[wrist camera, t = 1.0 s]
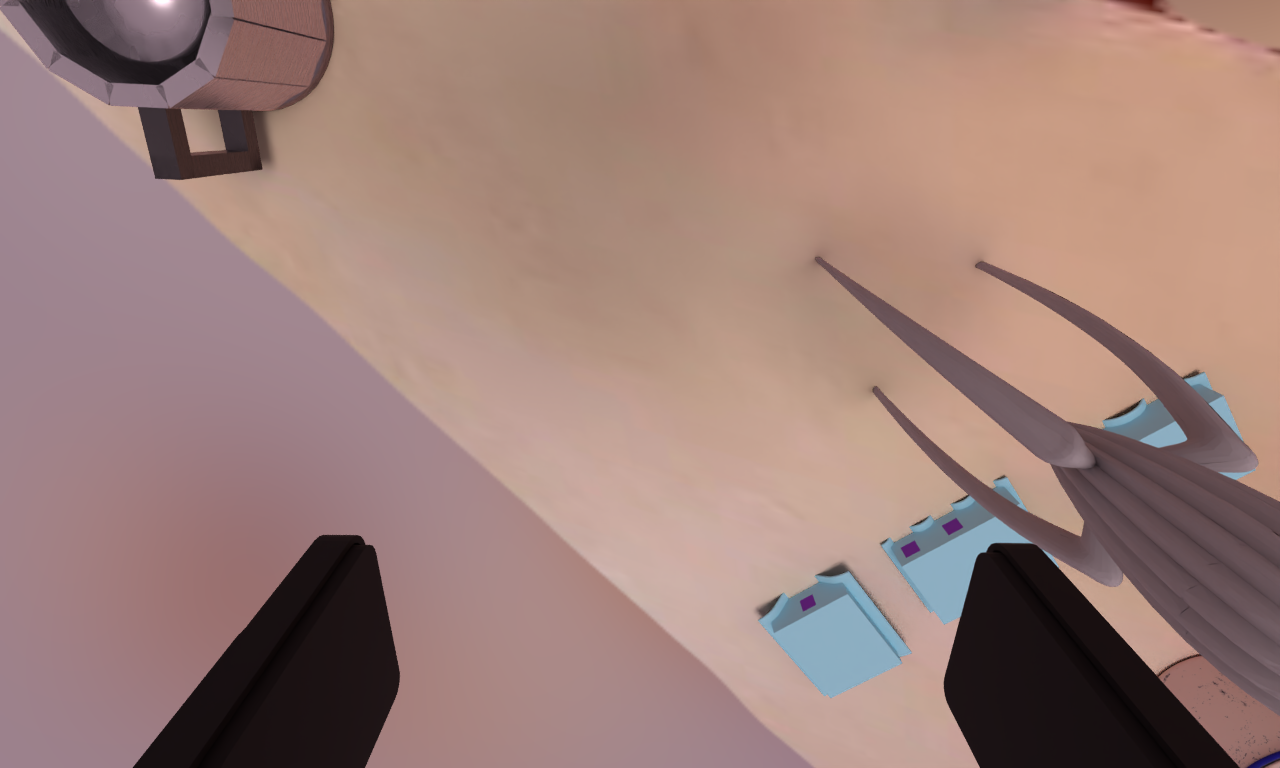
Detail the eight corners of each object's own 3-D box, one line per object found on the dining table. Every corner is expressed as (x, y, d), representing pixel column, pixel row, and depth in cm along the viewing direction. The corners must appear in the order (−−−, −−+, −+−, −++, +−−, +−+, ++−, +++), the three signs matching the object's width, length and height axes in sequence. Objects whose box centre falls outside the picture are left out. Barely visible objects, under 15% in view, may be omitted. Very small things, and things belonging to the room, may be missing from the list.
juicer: (797, 391, 42) (1089, 924, 14) (815, 256, 38) (1252, 612, 11) (952, 395, 42) (1548, 936, 14) (985, 260, 38) (1865, 628, 11)
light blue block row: (754, 603, 50) (818, 676, 53) (760, 631, 47) (827, 707, 50) (1189, 363, 41) (1236, 467, 44) (1228, 380, 38) (1274, 490, 42)
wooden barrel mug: (124, -106, 32) (-63, -186, 23) (318, -96, 32) (201, -172, 23) (184, 162, 37) (48, 175, 28) (352, 170, 37) (265, 185, 28)
